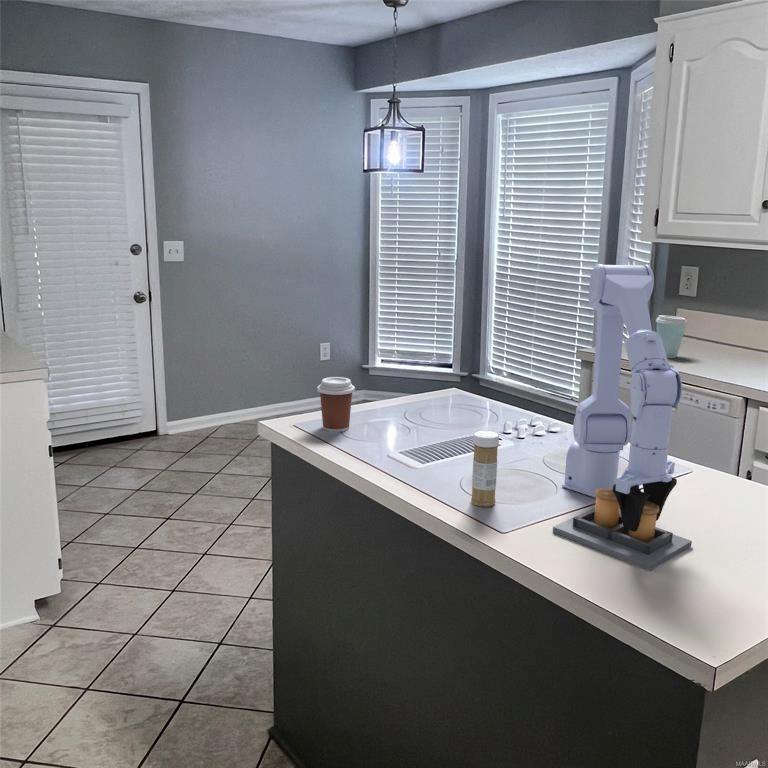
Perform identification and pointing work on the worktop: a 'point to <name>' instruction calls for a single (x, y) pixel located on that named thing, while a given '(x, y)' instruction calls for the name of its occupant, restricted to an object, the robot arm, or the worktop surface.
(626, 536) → the housing
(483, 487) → the sprinkles bottle
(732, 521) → the worktop surface
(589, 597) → the worktop surface
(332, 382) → the coffee cup
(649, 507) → the jaw peg
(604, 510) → the jaw peg
